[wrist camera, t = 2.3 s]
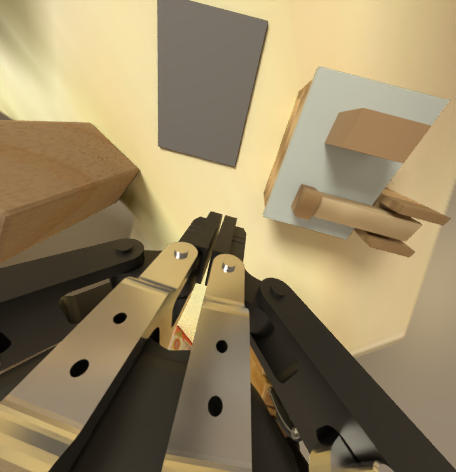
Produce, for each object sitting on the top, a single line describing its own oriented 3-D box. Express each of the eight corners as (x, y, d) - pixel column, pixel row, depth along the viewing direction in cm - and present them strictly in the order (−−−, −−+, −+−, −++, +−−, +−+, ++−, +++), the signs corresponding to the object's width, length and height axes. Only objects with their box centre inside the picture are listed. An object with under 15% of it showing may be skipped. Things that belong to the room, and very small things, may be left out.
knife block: (314, 323, 47) (383, 565, 21) (259, 368, 66) (259, 524, 40) (276, 309, 46) (299, 541, 20) (232, 359, 65) (214, 511, 40)
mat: (159, -6, 20) (157, -8, 19) (267, 22, 20) (268, 20, 19) (159, 146, 29) (158, 146, 28) (234, 166, 28) (234, 166, 28)
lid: (313, 72, 16) (340, 44, 11) (428, 103, 16) (516, 90, 11) (262, 210, 25) (263, 234, 19) (339, 231, 25) (364, 261, 19)
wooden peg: (301, 183, 20) (307, 191, 17) (407, 212, 19) (429, 224, 17) (291, 206, 21) (295, 216, 19) (389, 232, 21) (407, 246, 19)
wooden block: (141, 169, 31) (5, 218, 15) (117, 202, 36) (-8, 268, 19) (90, 121, 28) (-155, 111, 11) (71, 164, 33) (-125, 202, 16)
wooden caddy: (299, 91, 22) (334, 60, 12) (418, 122, 22) (557, 118, 12) (263, 192, 30) (266, 227, 20) (352, 216, 30) (402, 263, 20)
